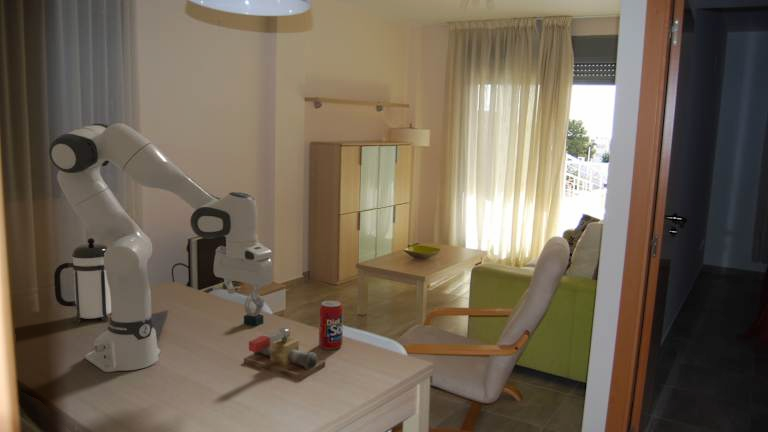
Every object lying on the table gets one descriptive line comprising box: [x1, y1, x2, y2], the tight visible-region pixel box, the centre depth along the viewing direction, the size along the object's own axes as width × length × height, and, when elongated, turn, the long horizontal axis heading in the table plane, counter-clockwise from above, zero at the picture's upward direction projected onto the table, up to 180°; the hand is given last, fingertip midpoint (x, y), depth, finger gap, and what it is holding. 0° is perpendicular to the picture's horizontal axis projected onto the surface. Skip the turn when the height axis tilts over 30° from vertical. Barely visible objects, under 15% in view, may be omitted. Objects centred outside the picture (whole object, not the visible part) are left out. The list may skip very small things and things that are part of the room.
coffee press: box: [53, 237, 111, 324], centre depth 209 cm, size 17×16×30 cm
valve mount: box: [243, 337, 326, 381], centre depth 175 cm, size 22×12×9 cm, turn 60°
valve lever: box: [248, 327, 291, 353], centre depth 169 cm, size 16×3×3 cm, turn 150°
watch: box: [243, 294, 265, 327], centre depth 210 cm, size 6×8×11 cm
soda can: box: [318, 300, 344, 350], centre depth 190 cm, size 8×8×15 cm
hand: (242, 296), depth 166 cm, fingers open, 8 cm apart
